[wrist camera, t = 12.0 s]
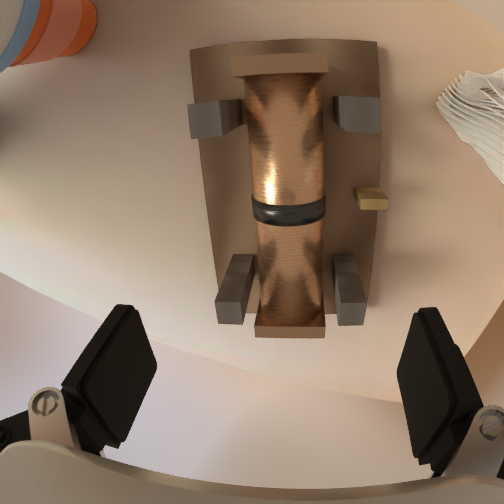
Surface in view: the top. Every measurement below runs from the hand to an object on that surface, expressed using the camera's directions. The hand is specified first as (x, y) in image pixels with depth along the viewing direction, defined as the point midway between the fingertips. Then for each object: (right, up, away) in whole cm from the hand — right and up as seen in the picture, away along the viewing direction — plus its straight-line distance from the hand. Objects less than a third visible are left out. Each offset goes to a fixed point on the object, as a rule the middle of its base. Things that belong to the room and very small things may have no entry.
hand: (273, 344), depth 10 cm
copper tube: (+2, +8, +15) cm, 17 cm away
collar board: (+3, +8, +16) cm, 18 cm away
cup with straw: (-18, +24, +11) cm, 32 cm away
